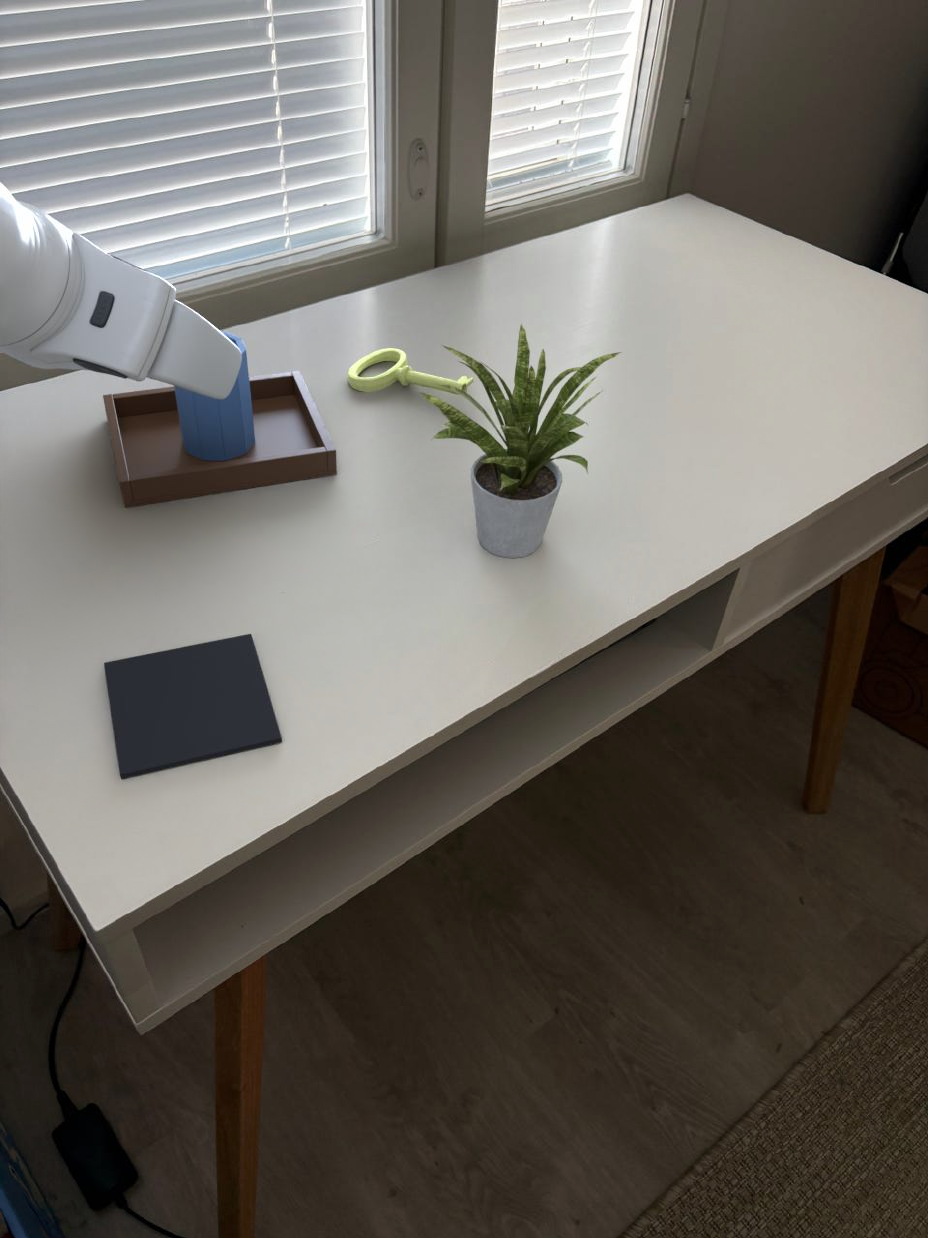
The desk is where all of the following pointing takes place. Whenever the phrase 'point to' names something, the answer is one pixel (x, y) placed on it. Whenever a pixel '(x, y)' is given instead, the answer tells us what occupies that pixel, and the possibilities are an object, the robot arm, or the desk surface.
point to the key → (398, 374)
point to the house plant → (518, 450)
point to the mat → (189, 705)
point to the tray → (167, 472)
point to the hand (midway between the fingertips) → (162, 364)
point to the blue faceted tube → (218, 418)
